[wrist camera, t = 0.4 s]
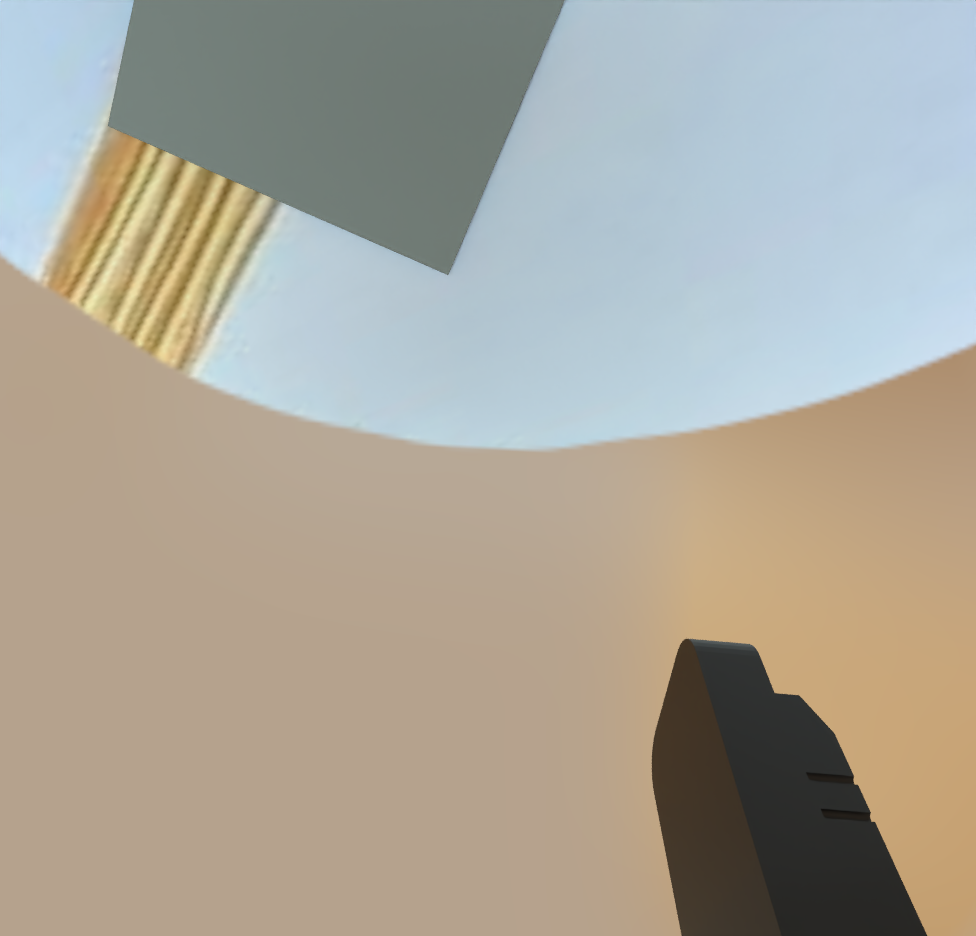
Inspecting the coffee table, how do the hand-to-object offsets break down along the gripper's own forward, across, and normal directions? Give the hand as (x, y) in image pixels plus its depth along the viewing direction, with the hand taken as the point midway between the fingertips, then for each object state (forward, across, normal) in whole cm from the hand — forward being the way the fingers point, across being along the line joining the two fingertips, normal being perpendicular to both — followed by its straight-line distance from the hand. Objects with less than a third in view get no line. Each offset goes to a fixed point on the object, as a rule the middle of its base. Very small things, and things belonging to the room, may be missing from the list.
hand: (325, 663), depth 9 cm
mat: (+27, +4, -6) cm, 28 cm away
